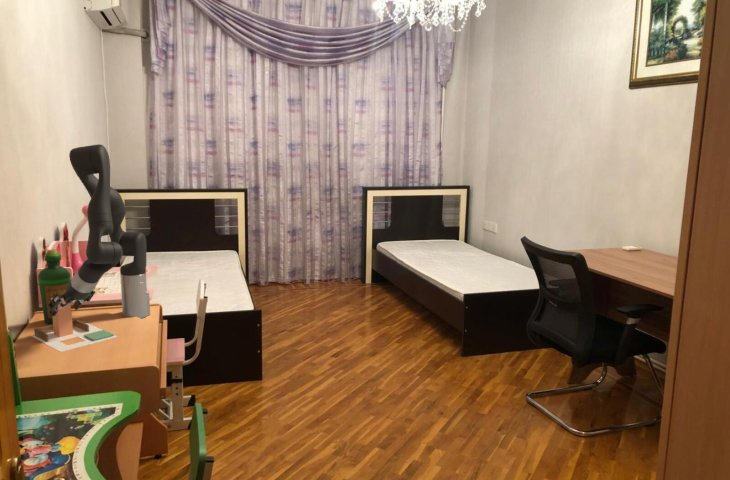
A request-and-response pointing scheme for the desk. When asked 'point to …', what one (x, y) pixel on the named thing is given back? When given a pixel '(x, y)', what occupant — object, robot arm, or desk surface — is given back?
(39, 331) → the tray
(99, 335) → the pad
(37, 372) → the desk surface
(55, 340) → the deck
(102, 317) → the desk surface
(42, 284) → the bottle
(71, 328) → the post
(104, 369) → the desk surface
